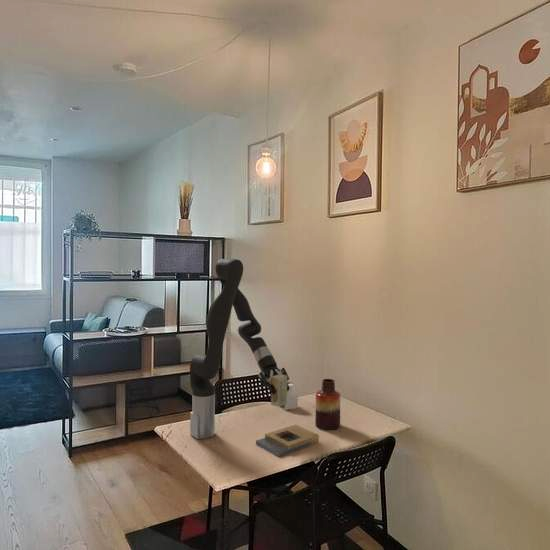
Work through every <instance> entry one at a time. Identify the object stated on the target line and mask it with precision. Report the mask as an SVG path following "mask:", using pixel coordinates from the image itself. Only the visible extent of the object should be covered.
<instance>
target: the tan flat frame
mask: <svg viewBox="0 0 550 550" xmlns="http://www.w3.org/2000/svg"><path fill="white" fill-rule="evenodd" d="M319 435H320V434H318V433H315V432H313V431H310V430H308V429H306V428H304V427H303V426H299V425H297V424H294V425H289V426H286V427H284V428H280V429H277V430H274V431H273V430H272V431H270V432H267V433H265V434H264V437H262V438H260V439H257V440H255V445H256V446H259V448H261V449H263V448H264V450H266V451H268V452H269V453H270V454H272V453H273V455H274V454H275V455H274V456H276V457H279V456H280V457H282V455H283V456H285V454H286V455H288V454H291V453H293V452H296V451H298V450H302V449H305V448H307V446H308V447H310V446H314V445H315V443H316V444H318V442H319V443H320V441H319V440H320V436H319ZM285 439H289V440H290V441H287V440H285ZM280 457H279V458H280Z"/></svg>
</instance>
